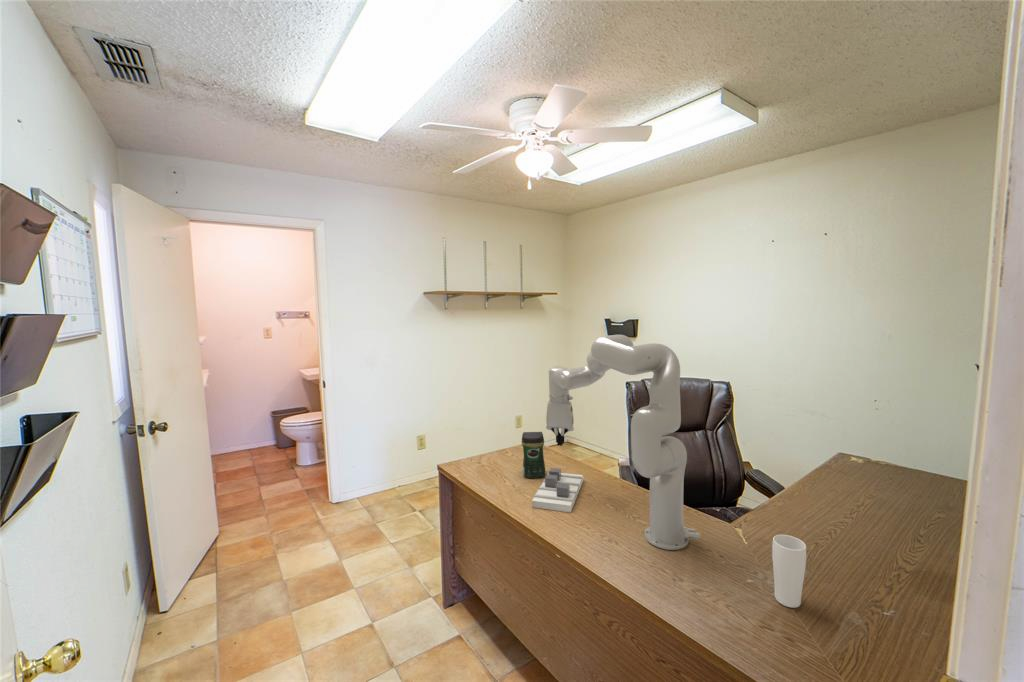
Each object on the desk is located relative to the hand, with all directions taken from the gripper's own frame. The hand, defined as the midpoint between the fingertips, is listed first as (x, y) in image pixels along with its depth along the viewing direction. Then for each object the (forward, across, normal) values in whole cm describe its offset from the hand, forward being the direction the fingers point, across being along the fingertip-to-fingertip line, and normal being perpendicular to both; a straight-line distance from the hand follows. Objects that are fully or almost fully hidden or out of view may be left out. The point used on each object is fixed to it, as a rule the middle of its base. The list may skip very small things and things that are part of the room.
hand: (560, 444), depth 166 cm
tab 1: (+14, +2, 0) cm, 14 cm away
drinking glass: (+17, -66, +47) cm, 83 cm away
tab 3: (+14, -4, +13) cm, 19 cm away
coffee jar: (+17, +14, -8) cm, 23 cm away
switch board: (+17, -1, +6) cm, 18 cm away
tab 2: (+14, +2, +6) cm, 16 cm away
